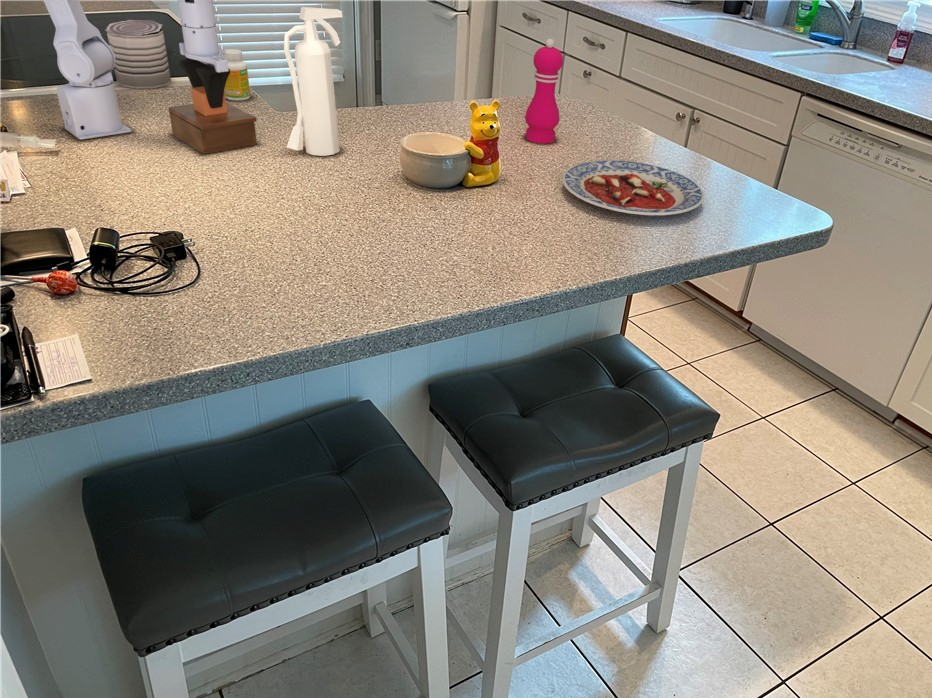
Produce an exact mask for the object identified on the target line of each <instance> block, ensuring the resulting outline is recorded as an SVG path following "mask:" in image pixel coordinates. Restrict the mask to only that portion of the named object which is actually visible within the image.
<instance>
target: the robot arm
mask: <svg viewBox="0 0 932 698" xmlns="http://www.w3.org/2000/svg"><path fill="white" fill-rule="evenodd" d="M42 1H43V3H44V5H45V7H46V10H47V12H48V14H49V16H50V19H51V20H52V23H53V25H54V28H55V32H54V36H53V41H52V42H53V43H52V45H53V47H54V49H55V52H56V54H57V55H56V56H57V58H56V59H57V60H56V62H57V67H58V70H59V72H60V74H61V75H62V76H63V77H64V78H65V79H66V80H67V81H68V83H66V84H61V85H58V86H57V88H56V94H57V100H58V104H59V107H60V112H61V115H62V119H63V123H64V130H66V131H68V133H70V134H71V135H73V136H74V137H75V138H77V139H78V140H88V139H94V138H101V137H107V136H114V135H121V134H128V133H131V132H132V129H131V128H130V127H128V126H127V125H125V124H124V123H123V121H122V116H121V111H120V107H119V101H118V97H117V92H116V87H115V83H114V77H113V74H112V71H113V70H114V66H115V61H116V60H115V55H114V52H113V50H112V49H111V47H110V45H109V43H107V42H106V40H104V38H103V36H102V34H101V32H100V30H99V29H98V28H97V27H96V26H94V25H93V24H92V23H91V22H90V21H89V20H88V18H87V16H86V14H85V12H84V11H85V10H84V9H83V6H82V4H81V2H80V0H42ZM213 1H214V0H177V4H178V5H177V6H178V11H179V12H178V13H179V19H180V25H181V33H182V39H183V42H178V46H179V54H180V55H181V56H184V57H185V59H180V60H179V61H178V63H179V65H180V67H181V68H182V69H183V71H184V73H185V74H186V76H187V78H188V80H189V83H190V85H191V88H195V87H203V86H204V88H205V92H206V96H207V100H208V103H209V106H210V108H218V107H222V104H223V95H224V88H225V84H226V81H227V78H228V76H229V74H230V69H229V68H228V62H227V60H226V59H224V57H223V55H224V54H226V53H225V50H226V49H223V48H221V47H219V46H220V45H219V40H218V33H217V32H218V31H217V23H216V14H215V9H214V8H215V7H214V2H213Z"/></svg>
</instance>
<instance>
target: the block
mask: <svg viewBox="0 0 932 698" xmlns="http://www.w3.org/2000/svg"><path fill="white" fill-rule="evenodd" d="M190 90H191V98H192V104H193V105H194V110H196V111H197V112H199V113H201V114H203V115H204V116H209V115H215V114H222V113H227V106H226V103H227V98H225V91H224V95H223V104H222V107H218V108H210V106H209V103H208V100H207V96H206V92H205V88H204V86H203V87H195V88H192V87H190Z"/></svg>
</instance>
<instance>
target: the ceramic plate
mask: <svg viewBox="0 0 932 698" xmlns="http://www.w3.org/2000/svg"><path fill="white" fill-rule="evenodd" d="M561 179H562V184H563V186H564V187H565V189H566V190H567V191H568V192H569V193H570V194H571V195H574V196H575V197H576V198H578V199H580V200H582V201H584V202H586V203H589V204H592V205H594V206H595V207H599V208H603V209H607V210H610V211H614V212H619V213H624V214H631V215H640V216H670V215H671V216H672V215H679V214H683V213H687V212H690V211H692V210H694V209H696V208H698V207H700V206H701V204H703V202H704V199H705V193H704V191H703V189H702V188H701V187H700V186H699V185H698V183H696V182H695V181H693V180H692V179H690V178H688V177H687V176H685V175H683V174H681V173H678V172H676V171H673V170H670V169H667V168H665V167H661V166H657V165H654V164H649V163H644V162H637V161H629V160H627V161H626V160H617V159H616V160H615V159H614V160H612V159H609V160H608V159H607V160H604V159H603V160H592V161H587V162H582V163H579V164H578V163H577V164H576V165H573V166H571V167H569V168H568V169H566V171H564V172H563V174H562V177H561Z"/></svg>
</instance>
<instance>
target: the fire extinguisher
mask: <svg viewBox="0 0 932 698" xmlns="http://www.w3.org/2000/svg"><path fill="white" fill-rule="evenodd" d="M339 18H343V11H342V10H340V9H338V8H325V7H309V6H301V7H300V13H299V19H300V20H302V21H303V24H300V25H294V26H293V27H292V28H290V29H289V30H288V31H286V32H285V33H284V37H283V38H284V39H283V41H284V42H283V44H284V45H283V52H284V55H285V58H286V63H287V65H288V68H289V72H290V76H291V77H290V78H291V83H292V90H293V94H294V100H295V105H296V111H297V117H296V123H295V125H294V126H293V127H292V130H291V133H290V136H289V139H288V142H287V144H286V148H287V149H290V150H294V151H303V149H304V147H305V152H306V153H307V154H309V155H311V156H318V157H319V156H321V157H325V156H331V155H335V154H337V153H340V150H341V149H340V139H339V130H338V118H337V106H336V96H335V95H336V94H335V86H334V75H333V65H332V53H331V48H330V46H329V44H328V42H326V41H324V40H322V39H320V37H319V33H318V30H317V25H316V22H317V23H318V24H320V25H321V26H322V28H323V29H324V30H325V31H326V32H327V34H328V36H329V38H330V40H331V42H332V45H333V46H335V47H338V46H339V45H340V44H341V40H340V37H339V35H338V32H337V31H336V30H335V28H334V27H333V26H332V25H331V24H330V23H328V22H327V21H326V19H339ZM324 19H325V20H324ZM315 21H316V22H315ZM298 32H300V33H301V32H303V39H301V40H300V41H298V42H296V43H295V47H294V60H295V64H294V61H293V58H292V55H291V52H290V51H291V49H290V43H291V42H290V41H291V40H290V38H291V37H292V36H294V35H295V34H296V33H298ZM304 145H305V146H304Z"/></svg>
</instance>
